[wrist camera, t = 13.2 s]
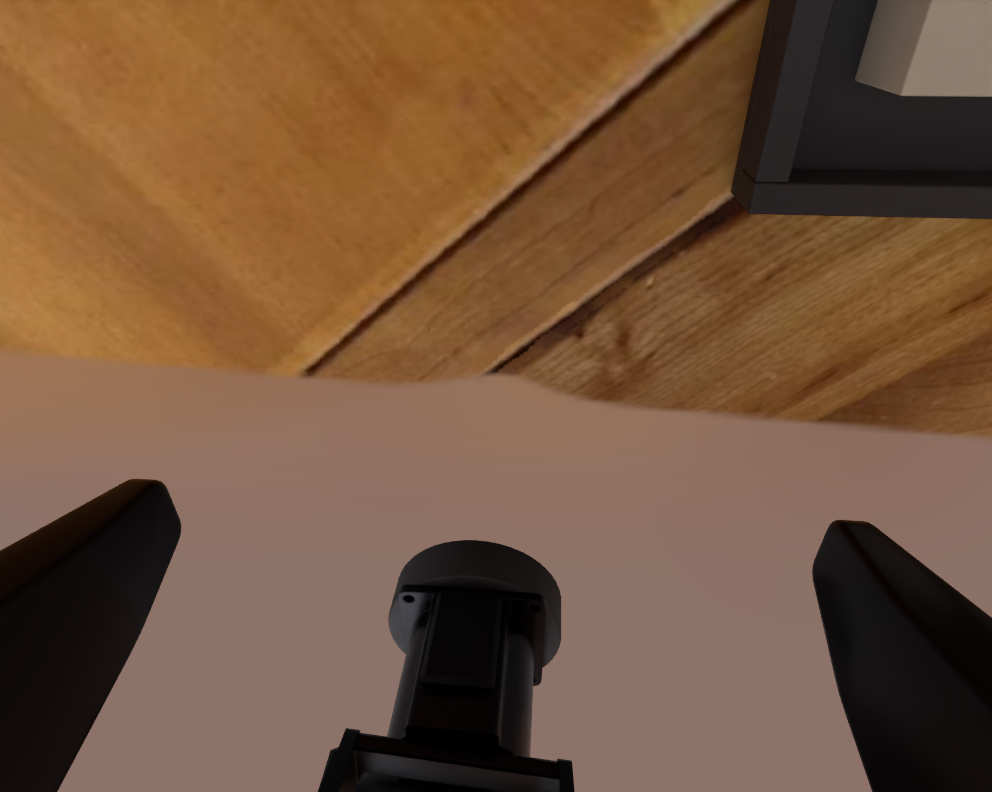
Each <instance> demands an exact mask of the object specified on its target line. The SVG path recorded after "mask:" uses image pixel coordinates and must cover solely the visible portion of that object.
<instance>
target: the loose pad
mask: <svg viewBox="0 0 992 792" xmlns="http://www.w3.org/2000/svg"><path fill="white" fill-rule="evenodd" d="M855 80H856V81H858V82H861V83H864V84H867V85H870V86H873V87H876V88H879V89H882V90H885V91H888V92H891V93H894V94H897V95H900V96H971V97H992V0H878V1H877V5H876V8H875V12H874V15H873V18H872V22H871V25H870V29H869V32H868V36H867V39H866V42H865V46H864V49H863V53H862V56H861V60H860V63H859V67H858V70H857V73H856V77H855Z"/></svg>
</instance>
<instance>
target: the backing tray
mask: <svg viewBox="0 0 992 792" xmlns="http://www.w3.org/2000/svg"><path fill="white" fill-rule="evenodd" d="M877 1H878V0H770V5H769V10H768V15H767V19H766V24H765V29H764V34H763V39H762V44H761V49H760V53H759V58H758V63H757V68H756V73H755V78H754V82H753V87H752V92H751V97H750V102H749V107H748V111H747V116H746V121H745V126H744V131H743V136H742V141H741V145H740V150H739V155H738V160H737V165H736V170H735V174H734V179H733V184H732V189H731V193H732V194H733V195H734V196H735V197H736V198H737V200H738V201H739V202H740V203H741V205H742V206H743V207H744V208H745V209H746V211H747V212H748V213H749V214H778V215H826V216H873V217H920V218H968V219H992V97H971V96H900V95H897V94H894V93H891V92H888V91H885V90H882V89H879V88H876V87H873V86H870V85H867V84H864V83H861V82H858V81H856V80H855V77H856V73H857V70H858V67H859V63H860V60H861V56H862V53H863V49H864V46H865V42H866V39H867V36H868V32H869V29H870V25H871V22H872V18H873V15H874V12H875V8H876V5H877Z"/></svg>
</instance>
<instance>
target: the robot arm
mask: <svg viewBox="0 0 992 792" xmlns="http://www.w3.org/2000/svg"><path fill="white" fill-rule="evenodd" d="M180 533H181V522H180V519H179V516H178V514H177V511H176V509H175V507H174V504H173V502H172V499H171V497H170V495H169V492H168V490H167V488H166V486H165V485H164V484H163V483H162V482H161V481H158V480H147V479H131V480H128V481H126V482H124V483H122V484H120V485H118V486H116V487H115V488H113V489H111V490H109V491H108V492H106V493H104V494H102V495H100V496H98V497H97V498H95V499H93V500H91V501H89V502H87V503H86V504H84V505H82V506H80V507H79V508H77V509H75V510H73V511H71V512H69V513H68V514H66V515H64V516H62V517H60V518H59V519H57V520H55V521H53V522H52V523H50V524H48V525H46V526H44V527H42V528H40V529H39V530H37V531H36V532H33V533H31V534H30V535H28V536H26V537H24V538H23V539H21V540H19V541H17V542H15V543H14V544H12V545H10V546H8V547H6V548H4V549H3V550H1V551H0V792H57V791H58V789H59V787H60V785H61V784H62V782H63V779H64V778H65V776H66V774H67V772H68V770H69V769H70V767H71V765H72V763H73V761H74V759H75V757H76V755H77V753H78V751H79V750H80V748H81V746H82V744H83V742H84V740H85V738H86V737H87V735H88V733H89V731H90V729H91V727H92V725H93V723H94V721H95V719H96V718H97V716H98V714H99V712H100V710H101V708H102V706H103V704H104V703H105V700H106V699H107V697H108V695H109V693H110V691H111V689H112V688H113V685H114V684H115V682H116V680H117V678H118V676H119V674H120V672H121V671H122V669H123V667H124V665H125V663H126V661H127V659H128V657H129V656H130V654H131V652H132V650H133V648H134V646H135V643H136V641H137V640H138V637H139V635H140V633H141V631H142V628H143V626H144V624H145V622H146V619H147V617H148V614H149V612H150V610H151V607H152V605H153V602H154V600H155V597H156V595H157V592H158V590H159V588H160V585H161V583H162V580H163V578H164V575H165V573H166V570H167V568H168V565H169V563H170V561H171V558H172V556H173V553H174V551H175V548H176V546H177V543H178V541H179V538H180ZM812 574H813V582H814V587H815V591H816V596H817V600H818V604H819V609H820V613H821V618H822V622H823V626H824V631H825V636H826V640H827V644H828V649H829V653H830V658H831V662H832V666H833V671H834V675H835V679H836V683H837V687H838V691H839V695H840V698H841V701H842V704H843V708H844V711H845V714H846V717H847V720H848V723H849V726H850V728H851V731H852V734H853V737H854V740H855V743H856V746H857V749H858V752H859V755H860V758H861V760H862V763H863V766H864V769H865V772H866V775H867V778H868V781H869V784H870V787H871V789H872V792H992V618H991V617H990V616H989V615H987V614H986V613H985V612H984V611H982V610H981V609H980V608H979V607H977V606H976V605H975V604H973V603H972V602H971V601H969V600H968V599H967V598H966V597H965V596H963V595H962V594H961V593H959V592H958V591H957V590H955V589H954V588H953V587H952V586H950V585H949V584H948V583H947V582H945V581H944V580H943V579H942V578H940V577H939V576H938V575H936V574H935V573H934V572H933V571H931V570H930V569H929V568H927V567H926V566H924V564H922V563H921V562H920V561H919V560H917V559H916V558H915V557H913V556H912V555H911V554H910V553H908V552H907V551H906V550H904V549H903V548H902V547H901V546H899V545H898V544H897V543H895V542H894V541H893V540H891V539H890V538H889V537H888V536H886V535H885V534H884V533H883V532H881V531H880V530H879V529H878V528H876V527H875V526H873V525H872V524H870V523H868V522H864V521H850V520H836V521H834V522H832V523H831V524H830V526H829V527H828V530H827V532H826V534H825V536H824V539H823V541H822V543H821V546H820V548H819V550H818V553H817V555H816V558H815V560H814V563H813V571H812ZM398 604H399V610H400V617H401V624H402V630H403V637H404V643H405V650H406V658H405V662H404V667H403V671H402V675H401V679H400V684H399V688H398V692H397V696H396V701H395V705H394V709H393V714H392V718H391V723H390V726H389V731H388V735H387V737H385V736H378V735H371V734H364V733H360V730H355V729H348V728H346V730H345V732H344V735H343V738H342V740H341V743H340V746H339V747H338V748H335V749H333V750H331V751H330V754H329V757H328V761H327V764H326V767H325V771H324V774H323V777H322V781H321V784H320V787H319V790H318V792H574V783H573V782H574V781H573V770H572V761H570V760H563V759H557V761H551V760H544V759H538V758H531V757H530V745H531V720H532V696H533V686H536V685H539V684H540V683H541V678H542V677H541V676H542V662H543V646H544V630H545V614H546V599H545V597H544V596H542V595H541V594H537V593H528V592H514V591H500V590H485V589H471V588H457V587H443V586H429V585H414V584H405V585H403V586H402V587H401V588H400V590H399V594H398Z"/></svg>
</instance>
